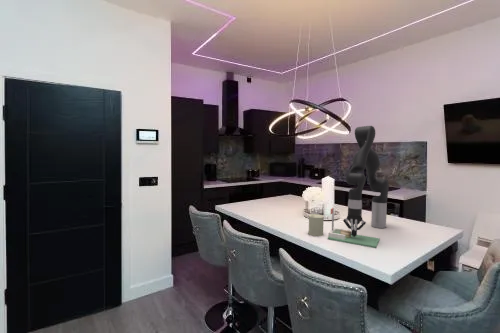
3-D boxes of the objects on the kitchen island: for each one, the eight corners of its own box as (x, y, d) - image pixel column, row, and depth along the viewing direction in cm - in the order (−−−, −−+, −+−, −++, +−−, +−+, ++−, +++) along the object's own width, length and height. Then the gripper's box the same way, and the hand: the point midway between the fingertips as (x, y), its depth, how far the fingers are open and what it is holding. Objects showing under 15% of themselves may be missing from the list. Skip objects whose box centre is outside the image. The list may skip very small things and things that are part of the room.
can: (305, 232, 169) (305, 214, 169) (317, 231, 172) (318, 213, 172) (313, 237, 161) (314, 217, 160) (326, 235, 164) (327, 216, 163)
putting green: (334, 232, 170) (334, 230, 170) (379, 239, 156) (379, 238, 156) (327, 239, 157) (327, 237, 157) (375, 248, 143) (375, 246, 143)
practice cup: (334, 231, 169) (334, 205, 168) (349, 234, 164) (350, 207, 163) (328, 236, 158) (329, 209, 157) (344, 239, 153) (345, 211, 152)
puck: (342, 234, 163) (342, 229, 163) (352, 236, 160) (352, 231, 159) (338, 236, 159) (338, 231, 158) (349, 238, 155) (349, 233, 155)
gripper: (368, 207, 155) (367, 236, 156) (344, 204, 162) (343, 232, 163) (366, 209, 149) (365, 240, 149) (341, 206, 155) (340, 236, 156)
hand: (354, 236), depth 156 cm, fingers closed
